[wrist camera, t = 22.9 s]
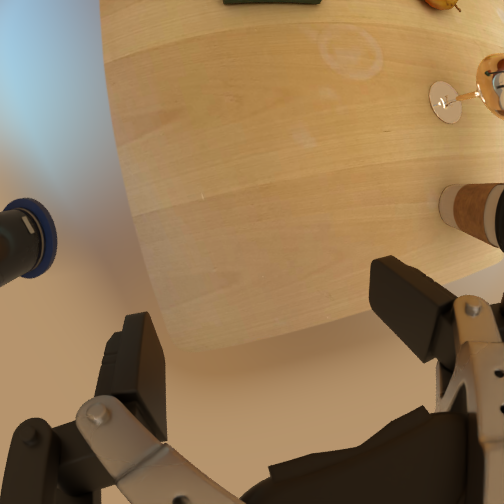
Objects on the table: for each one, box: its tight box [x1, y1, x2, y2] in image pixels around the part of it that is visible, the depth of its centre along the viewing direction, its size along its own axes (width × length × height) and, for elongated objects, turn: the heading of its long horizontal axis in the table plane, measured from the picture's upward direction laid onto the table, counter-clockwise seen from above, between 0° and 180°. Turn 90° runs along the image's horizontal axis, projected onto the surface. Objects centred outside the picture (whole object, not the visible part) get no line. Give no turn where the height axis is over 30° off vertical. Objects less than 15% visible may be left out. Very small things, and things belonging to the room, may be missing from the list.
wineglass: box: [429, 53, 504, 124], centre depth 24 cm, size 8×8×18 cm
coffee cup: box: [439, 183, 504, 253], centre depth 29 cm, size 8×8×15 cm
